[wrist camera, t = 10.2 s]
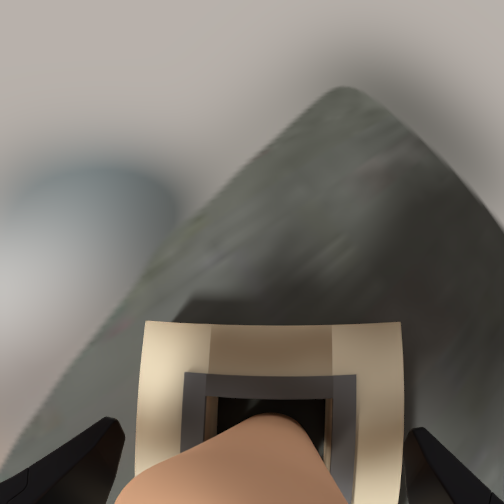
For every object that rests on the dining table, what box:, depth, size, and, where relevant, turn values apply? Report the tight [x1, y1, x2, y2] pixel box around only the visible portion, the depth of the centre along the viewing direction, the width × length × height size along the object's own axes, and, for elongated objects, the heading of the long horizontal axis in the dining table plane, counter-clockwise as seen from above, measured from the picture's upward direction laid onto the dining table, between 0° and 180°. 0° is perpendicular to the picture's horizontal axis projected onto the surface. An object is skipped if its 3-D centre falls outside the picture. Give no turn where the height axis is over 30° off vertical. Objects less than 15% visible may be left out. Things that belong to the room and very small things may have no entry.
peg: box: [115, 412, 348, 504], centre depth 8 cm, size 4×4×12 cm
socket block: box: [135, 321, 404, 504], centre depth 12 cm, size 12×12×3 cm
